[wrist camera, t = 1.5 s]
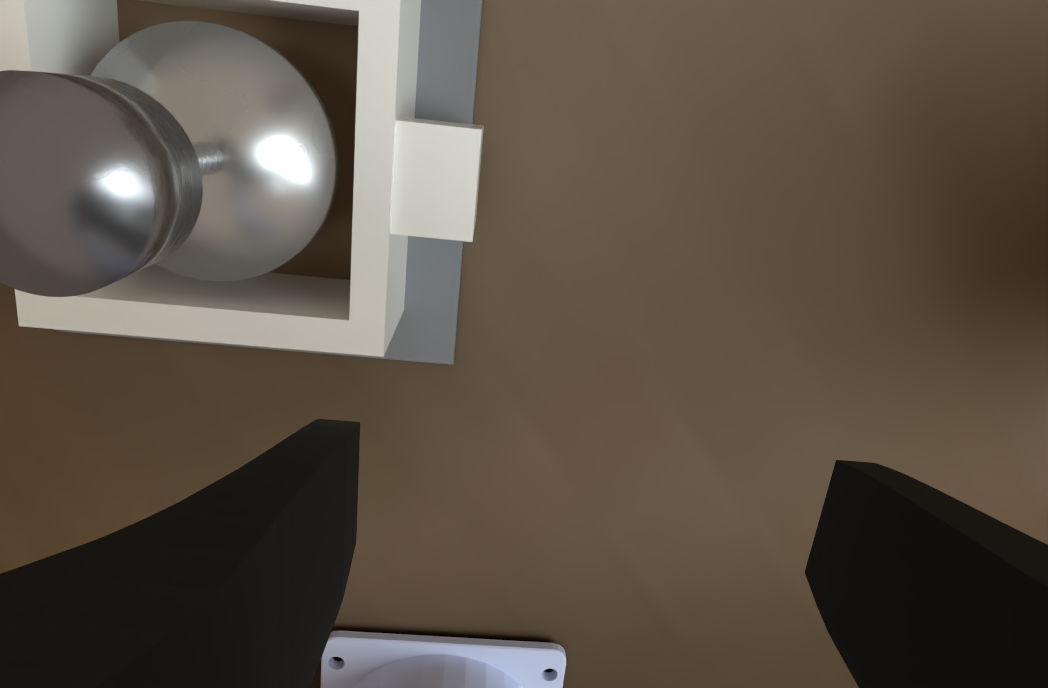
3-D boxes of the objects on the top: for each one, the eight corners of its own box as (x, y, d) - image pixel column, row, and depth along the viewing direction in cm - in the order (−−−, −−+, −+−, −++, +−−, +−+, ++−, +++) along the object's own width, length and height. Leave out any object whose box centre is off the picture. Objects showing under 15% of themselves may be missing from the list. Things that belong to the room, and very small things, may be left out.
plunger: (335, 286, 17) (245, 391, 11) (97, 264, 17) (-141, 360, 10) (342, 39, 15) (239, -7, 9) (77, 8, 15) (-219, -60, 9)
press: (464, 363, 21) (456, 422, 17) (62, 329, 20) (-43, 383, 16) (499, -57, 18) (500, -104, 14) (18, -119, 17) (-127, -187, 13)
